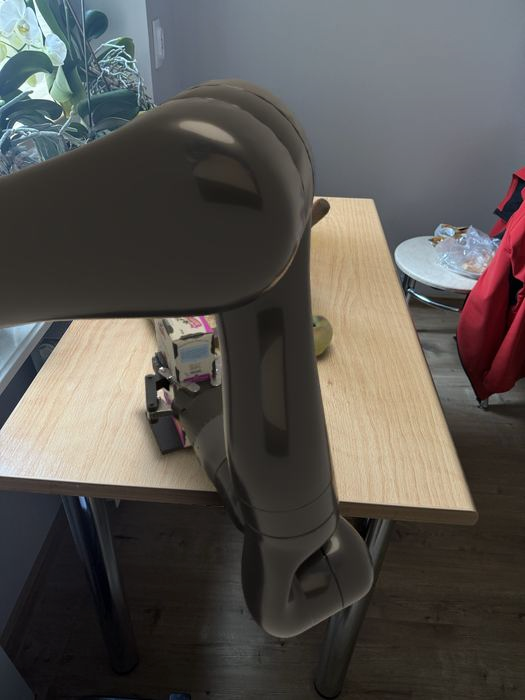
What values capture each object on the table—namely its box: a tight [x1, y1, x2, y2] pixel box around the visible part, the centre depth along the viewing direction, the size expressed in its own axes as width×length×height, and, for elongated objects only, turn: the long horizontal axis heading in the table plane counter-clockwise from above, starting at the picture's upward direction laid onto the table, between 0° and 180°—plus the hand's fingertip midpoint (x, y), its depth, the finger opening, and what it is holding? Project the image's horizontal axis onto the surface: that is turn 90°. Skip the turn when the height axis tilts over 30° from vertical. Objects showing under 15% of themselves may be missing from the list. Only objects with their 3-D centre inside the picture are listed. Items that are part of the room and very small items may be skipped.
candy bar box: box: [154, 316, 216, 449], centre depth 66 cm, size 11×5×16 cm, turn 22°
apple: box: [312, 314, 334, 357], centre depth 85 cm, size 6×8×6 cm
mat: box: [144, 410, 186, 455], centre depth 71 cm, size 10×8×1 cm
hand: (179, 352), depth 67 cm, fingers closed on candy bar box, 5 cm apart
